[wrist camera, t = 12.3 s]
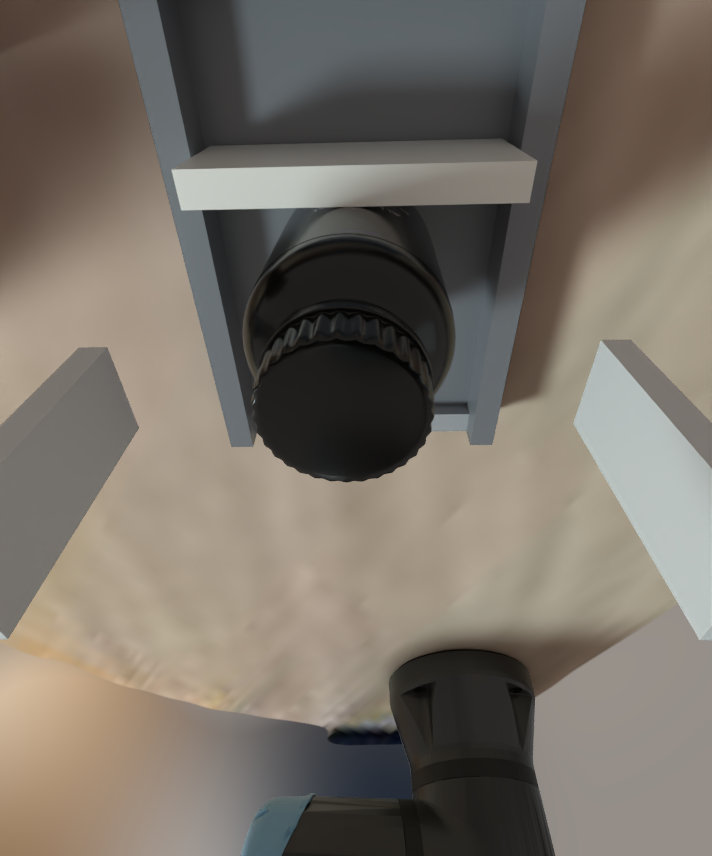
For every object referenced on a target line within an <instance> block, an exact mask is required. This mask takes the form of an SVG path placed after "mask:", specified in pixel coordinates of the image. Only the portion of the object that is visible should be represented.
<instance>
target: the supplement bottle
mask: <svg viewBox="0 0 712 856" xmlns="http://www.w3.org/2000/svg"><path fill="white" fill-rule="evenodd" d="M242 333H243V346H244V352H245V356H246V360H247V363H248V365H249V368H250V371H251V373H252V375H253V377H254V379H255V381H254V384H253V395H252V398H251V407H252V409H253V414H252V420H253V421H254V423H255V424H256V425H257V433H258V434H259V435H260V436H261V437H262V438H263V442H264V445H265V446H266V447H268V448H269V449H271V450H272V453H273V454H274V456H275V457H277V458H279V459H281V460H283V462H284V463H285V464H286V465H287V466H290V467H293V468H295V469H296V470H297V471H299V472H300V473H304V474H309V475H311V476H312V477H314V478H324V479H326V480H328V481H342V482H351V481H365V480H367V479H371V478H379V477H381V476H382V475H383V474H387V473H392V472H393V471H394V470H395V469H396V468H398V467H401V466H403V465H405V464H406V463H407V461H408V460H409V459H410V458H412V457H414V456H416V455H417V452H418V449H419V448H421V447H422V446H423V445H425V442H426V437H427V435H429V434H430V432H431V430H432V425H431V423H432V421H433V419H434V416H435V411H434V395H435V394H436V393H437V392H438V390H439V389H440V387H441V386H442V384H443V382H444V380H445V378H446V377H447V375H448V372H449V370H450V367H451V364H452V360H453V357H454V351H455V341H456V333H455V323H454V317H453V311H452V308H451V304H450V301H449V297H448V294H447V290H446V287H445V284H444V280H443V277H442V274H441V270H440V267H439V264H438V260H437V257H436V254H435V250H434V247H433V244H432V240H431V237H430V235H429V232H428V229H427V227H426V224H425V223H424V221H423V219H422V217H421V216H420V214H419V213H418V211H417V210H416V208H415V207H414V206H413V205H412V206H366V207H320V208H296V210H295V211H294V213H293V214H292V215H291V217H290V219H289V220H288V222H287V224H286V226H285V227H284V229H283V231H282V233H281V235H280V237H279V239H278V241H277V243H276V245H275V247H274V249H273V251H272V253H271V255H270V256H269V258H268V260H267V262H266V264H265V266H264V268H263V270H262V272H261V274H260V276H259V278H258V280H257V282H256V284H255V286H254V288H253V290H252V292H251V295H250V297H249V300H248V303H247V306H246V310H245V314H244V319H243V330H242Z"/></svg>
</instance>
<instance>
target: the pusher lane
mask: <svg viewBox="0 0 712 856" xmlns="http://www.w3.org/2000/svg"><path fill="white" fill-rule="evenodd" d="M118 2H119V6H120V10H121V14H122V18H123V21H124V25H125V29H126V33H127V37H128V41H129V45H130V49H131V53H132V57H133V61H134V65H135V69H136V73H137V77H138V81H139V84H140V88H141V92H142V96H143V100H144V104H145V108H146V112H147V116H148V120H149V124H150V128H151V132H152V136H153V140H154V144H155V147H156V151H157V155H158V159H159V163H160V167H161V171H162V175H163V179H164V183H165V187H166V191H167V195H168V199H169V203H170V206H171V210H172V214H173V218H174V222H175V226H176V230H177V234H178V238H179V242H180V246H181V250H182V254H183V258H184V262H185V266H186V269H187V273H188V277H189V281H190V285H191V289H192V293H193V297H194V301H195V305H196V309H197V313H198V317H199V321H200V325H201V329H202V332H203V336H204V340H205V344H206V348H207V352H208V356H209V360H210V364H211V368H212V372H213V376H214V380H215V384H216V388H217V391H218V395H219V399H220V403H221V407H222V411H223V415H224V419H225V423H226V427H227V431H228V435H229V439H230V443H231V447H253V445H254V441H255V438H256V434H257V425H256V424H255V423H254V421H253V420H252V414H253V409H252V407H251V398H252V395H253V384H254V381H255V379H254V377H253V375H252V373H251V371H250V368H249V365H248V363H247V360H246V356H245V352H244V346H243V333H242V330H243V319H244V314H245V310H246V306H247V303H248V300H249V297H250V295H251V292H252V290H253V288H254V286H255V284H256V282H257V280H258V278H259V276H260V274H261V272H262V270H263V268H264V266H265V264H266V262H267V260H268V258H269V256H270V255H271V253H272V251H273V249H274V247H275V245H276V243H277V241H278V239H279V237H280V235H281V233H282V231H283V229H284V227H285V226H286V224H287V222H288V220H289V219H290V217H291V215H292V214H293V213H294V211H295V210H296V208H274V209H228V210H181V207H180V203H179V199H178V195H177V191H176V187H175V183H174V178H173V174H172V169H173V168H175V167H176V166H178V165H180V164H181V163H183V162H185V161H186V160H188V159H190V158H191V157H193V156H195V155H196V154H198V153H200V152H201V151H203V150H205V149H206V148H208V147H209V146H222V145H261V144H300V143H340V142H379V141H419V140H458V139H498V138H502V139H504V140H505V141H507V142H508V143H510V144H512V145H513V146H515V147H516V148H518V149H520V150H521V151H523V152H524V153H526V154H528V155H529V156H531V157H532V158H534V159H536V160H537V166H536V172H535V177H534V182H533V187H532V192H531V197H530V202H529V203H504V204H458V205H413V206H414V207H415V208H416V210H417V211H418V213H419V214H420V216H421V217H422V219H423V221H424V223H425V224H426V227H427V229H428V232H429V235H430V237H431V240H432V244H433V247H434V250H435V254H436V257H437V260H438V264H439V267H440V270H441V274H442V277H443V280H444V284H445V287H446V290H447V294H448V297H449V301H450V304H451V308H452V311H453V317H454V323H455V333H456V341H455V351H454V357H453V360H452V364H451V367H450V370H449V372H448V375H447V377H446V378H445V380H444V382H443V384H442V386H441V387H440V389H439V390H438V392H437V393H436V394H435V395H434V411H435V416H434V419H433V421H432V423H431V425H432V430H431V431H467V435H468V438H469V442H470V445H492V443H493V439H494V434H495V429H496V424H497V420H498V415H499V410H500V406H501V401H502V396H503V391H504V387H505V382H506V377H507V372H508V368H509V363H510V358H511V354H512V349H513V344H514V339H515V335H516V330H517V325H518V321H519V316H520V311H521V306H522V302H523V297H524V292H525V287H526V283H527V278H528V273H529V269H530V264H531V259H532V254H533V250H534V245H535V240H536V235H537V231H538V226H539V221H540V217H541V212H542V207H543V202H544V198H545V193H546V188H547V183H548V179H549V174H550V169H551V165H552V160H553V155H554V150H555V146H556V141H557V136H558V131H559V127H560V122H561V117H562V113H563V108H564V103H565V98H566V94H567V89H568V84H569V79H570V75H571V70H572V65H573V61H574V56H575V51H576V46H577V42H578V37H579V32H580V27H581V23H582V18H583V13H584V9H585V4H586V0H118Z"/></svg>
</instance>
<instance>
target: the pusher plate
mask: <svg viewBox="0 0 712 856" xmlns="http://www.w3.org/2000/svg"><path fill="white" fill-rule="evenodd" d="M536 166H537V160H536V159H534V158H532V157H531V156H529V155H528V154H526V153H524V152H523V151H521V150H520V149H518V148H516V147H515V146H513V145H512V144H510V143H508V142H507V141H505V140H504V139H502V138H498V139H458V140H419V141H379V142H340V143H300V144H261V145H222V146H209V147H208V148H206V149H205V150H203V151H201V152H200V153H198V154H196V155H195V156H193V157H191V158H190V159H188V160H186V161H185V162H183V163H181V164H180V165H178V166H176V167H175V168H173V169H172V174H173V178H174V183H175V187H176V191H177V195H178V199H179V203H180V207H181V210H228V209H274V208H320V207H366V206H412V205H458V204H504V203H529V202H530V197H531V192H532V187H533V182H534V177H535V172H536Z"/></svg>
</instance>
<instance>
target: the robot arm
mask: <svg viewBox="0 0 712 856" xmlns="http://www.w3.org/2000/svg"><path fill="white" fill-rule="evenodd" d="M573 424H574V426H575V427H576V429H577V431H578V433H579V434H580V436H581V438H582V439H583V441H584V443H585V445H586V446H587V448H588V450H589V451H590V453H591V455H592V457H593V458H594V460H595V462H596V463H597V465H598V467H599V469H600V470H601V472H602V474H603V475H604V477H605V479H606V481H607V482H608V484H609V486H610V487H611V489H612V491H613V493H614V494H615V496H616V498H617V499H618V501H619V503H620V505H621V506H622V508H623V510H624V511H625V513H626V515H627V517H628V518H629V520H630V522H631V523H632V525H633V527H634V529H635V530H636V532H637V534H638V535H639V537H640V539H641V541H642V542H643V544H644V546H645V547H646V549H647V551H648V553H649V554H650V556H651V558H652V559H653V561H654V563H655V565H656V566H657V568H658V570H659V571H660V573H661V575H662V577H663V578H664V580H665V582H666V583H667V585H668V587H669V589H670V590H671V592H672V594H673V595H674V597H675V599H676V601H677V602H678V604H679V606H680V607H681V609H682V611H683V612H684V614H685V616H686V618H687V619H688V621H689V623H690V625H691V626H692V628H693V629H694V631H695V633H696V635H697V637H698V638H699V640H712V423H711V422H710V421H709V420H708V419H707V418H706V417H705V416H704V415H703V414H702V413H701V412H700V411H699V410H698V408H697V407H696V406H695V405H694V404H693V403H692V402H691V401H690V400H689V399H688V398H687V397H686V396H685V395H684V394H683V393H682V392H681V391H680V390H679V389H678V388H677V387H676V386H675V385H674V384H673V383H672V382H671V381H670V380H669V379H668V378H667V377H666V376H665V374H664V373H663V372H662V371H661V370H660V369H659V368H658V367H657V366H656V365H655V364H654V363H653V362H652V361H651V360H650V359H649V358H648V357H647V356H646V355H645V354H644V353H643V352H642V351H641V350H640V349H639V348H638V347H637V346H636V345H635V344H634V343H633V342H632V340H601V342H600V345H599V348H598V351H597V354H596V357H595V360H594V363H593V366H592V369H591V372H590V375H589V378H588V381H587V384H586V387H585V390H584V393H583V396H582V399H581V402H580V405H579V408H578V411H577V414H576V417H575V420H574V423H573ZM138 429H139V427H138V425H137V422H136V419H135V417H134V414H133V412H132V409H131V407H130V404H129V402H128V399H127V397H126V394H125V392H124V389H123V386H122V384H121V381H120V379H119V376H118V374H117V371H116V369H115V366H114V364H113V361H112V358H111V356H110V353H109V351H108V348H107V347H91V348H78V349H77V350H76V351H75V352H74V353H73V354H72V355H71V356H70V357H69V358H68V359H67V360H66V361H65V362H64V363H63V364H62V365H61V366H60V367H59V368H58V369H57V370H56V371H55V372H54V373H53V374H52V375H51V376H50V377H49V378H48V379H47V380H46V381H45V382H44V383H43V384H42V385H41V386H40V387H39V388H38V389H37V390H36V391H35V392H34V393H33V394H32V395H31V396H30V397H29V398H28V399H27V400H26V401H25V402H24V403H23V404H22V405H21V406H20V407H19V408H18V409H17V410H16V411H15V412H14V413H13V414H12V415H11V416H10V417H9V418H8V419H7V420H6V421H5V422H4V423H3V424H2V425H1V426H0V639H8V638H9V637H10V635H11V633H12V632H13V630H14V628H15V627H16V625H17V624H18V622H19V620H20V619H21V617H22V616H23V614H24V612H25V611H26V609H27V608H28V606H29V604H30V603H31V601H32V599H33V598H34V596H35V595H36V593H37V591H38V590H39V588H40V587H41V585H42V583H43V582H44V580H45V579H46V577H47V575H48V574H49V572H50V570H51V569H52V567H53V566H54V564H55V562H56V561H57V559H58V558H59V556H60V554H61V553H62V551H63V550H64V548H65V546H66V545H67V543H68V541H69V540H70V538H71V537H72V535H73V533H74V532H75V530H76V529H77V527H78V525H79V524H80V522H81V520H82V519H83V517H84V516H85V514H86V512H87V511H88V509H89V508H90V506H91V504H92V503H93V501H94V500H95V498H96V496H97V495H98V493H99V491H100V490H101V488H102V487H103V485H104V483H105V482H106V480H107V479H108V477H109V475H110V474H111V472H112V471H113V469H114V467H115V466H116V464H117V462H118V461H119V459H120V458H121V456H122V454H123V453H124V451H125V450H126V448H127V446H128V445H129V443H130V442H131V440H132V438H133V437H134V435H135V433H136V432H137V430H138ZM389 691H390V706H391V710H392V713H393V716H394V719H395V722H396V725H397V728H398V731H399V734H400V737H401V741H402V744H403V747H404V749H405V753H406V756H407V759H408V762H409V764H410V770H411V782H412V800H411V799H375V798H349V797H348V798H347V797H322V796H316V794H314V793H310V794H308V795H307V796H296V797H295V796H294V797H275V798H272V799H270V800H268V801H267V802H266V803H265V804H264V805H263V806H262V807H261V808H260V809H259V811H258V812H257V814H256V815H255V817H254V819H253V822H252V824H251V826H250V829H249V831H248V834H247V837H246V839H245V843H244V845H243V849H242V852H241V855H240V856H555V853H554V849H553V844H552V840H551V836H550V833H549V828H548V824H547V820H546V816H545V812H544V808H543V804H542V799H541V795H540V791H539V788H538V784H537V779H536V775H535V770H534V766H533V736H534V708H535V707H534V706H535V696H534V691H533V687H532V683H531V679H530V675H529V672H528V670H527V669H526V668H525V667H524V666H523V665H522V664H521V663H519V662H518V661H516V660H514V659H512V658H509V657H506V656H503V655H500V654H495V653H490V652H483V651H450V652H442V653H436V654H432V655H428V656H424V657H421V658H418V659H415V660H413V661H410V662H408V663H406V664H405V665H403V666H401V667H400V668H399V669H397V670H396V671H395V672H394V673H393V675H392V676H391V678H390V681H389Z"/></svg>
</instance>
